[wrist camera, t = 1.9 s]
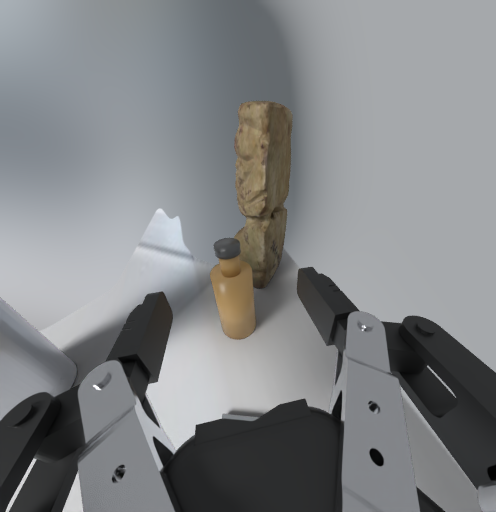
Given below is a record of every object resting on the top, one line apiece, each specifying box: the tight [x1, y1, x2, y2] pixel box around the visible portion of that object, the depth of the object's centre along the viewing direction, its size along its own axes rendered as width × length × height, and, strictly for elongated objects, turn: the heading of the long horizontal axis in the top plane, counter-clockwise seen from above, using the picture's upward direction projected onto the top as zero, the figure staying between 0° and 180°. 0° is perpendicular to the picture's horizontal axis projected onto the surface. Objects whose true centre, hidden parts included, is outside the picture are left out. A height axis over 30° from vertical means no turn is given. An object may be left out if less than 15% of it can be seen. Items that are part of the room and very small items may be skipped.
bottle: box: [210, 238, 256, 339], centre depth 26 cm, size 6×6×15 cm
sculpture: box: [234, 101, 292, 289], centre depth 33 cm, size 12×9×30 cm
